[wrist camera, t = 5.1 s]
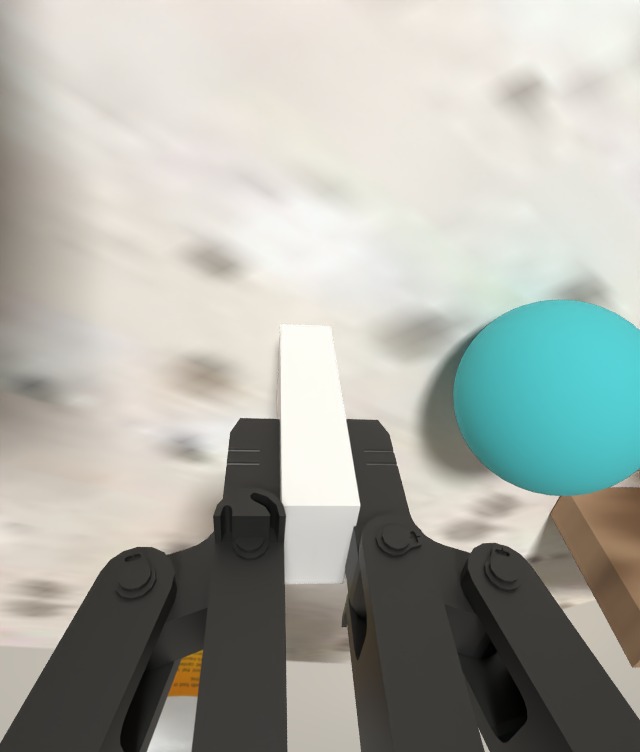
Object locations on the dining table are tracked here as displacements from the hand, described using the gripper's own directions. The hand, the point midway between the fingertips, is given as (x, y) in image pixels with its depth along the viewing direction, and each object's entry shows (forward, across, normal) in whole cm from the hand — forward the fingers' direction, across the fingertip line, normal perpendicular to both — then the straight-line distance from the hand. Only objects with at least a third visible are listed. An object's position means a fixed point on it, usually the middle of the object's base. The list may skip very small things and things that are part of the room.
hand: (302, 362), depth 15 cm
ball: (-1, +8, 0) cm, 8 cm away
